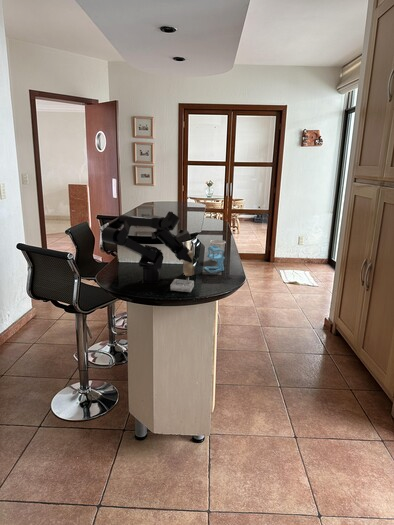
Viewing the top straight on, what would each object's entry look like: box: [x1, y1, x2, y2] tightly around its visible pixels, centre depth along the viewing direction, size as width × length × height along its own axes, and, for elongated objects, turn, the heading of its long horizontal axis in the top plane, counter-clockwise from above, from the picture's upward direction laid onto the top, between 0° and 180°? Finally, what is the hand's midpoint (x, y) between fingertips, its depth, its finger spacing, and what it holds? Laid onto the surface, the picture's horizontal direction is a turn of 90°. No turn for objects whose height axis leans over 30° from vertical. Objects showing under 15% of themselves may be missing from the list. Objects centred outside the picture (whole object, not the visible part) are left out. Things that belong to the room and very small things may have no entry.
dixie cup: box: [209, 239, 227, 262], centre depth 193 cm, size 8×8×10 cm
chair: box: [204, 245, 226, 274], centre depth 175 cm, size 8×8×12 cm
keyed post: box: [182, 249, 195, 277], centre depth 168 cm, size 5×4×11 cm
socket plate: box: [170, 278, 195, 293], centre depth 152 cm, size 8×7×2 cm
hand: (190, 260), depth 168 cm, fingers closed on keyed post, 3 cm apart
